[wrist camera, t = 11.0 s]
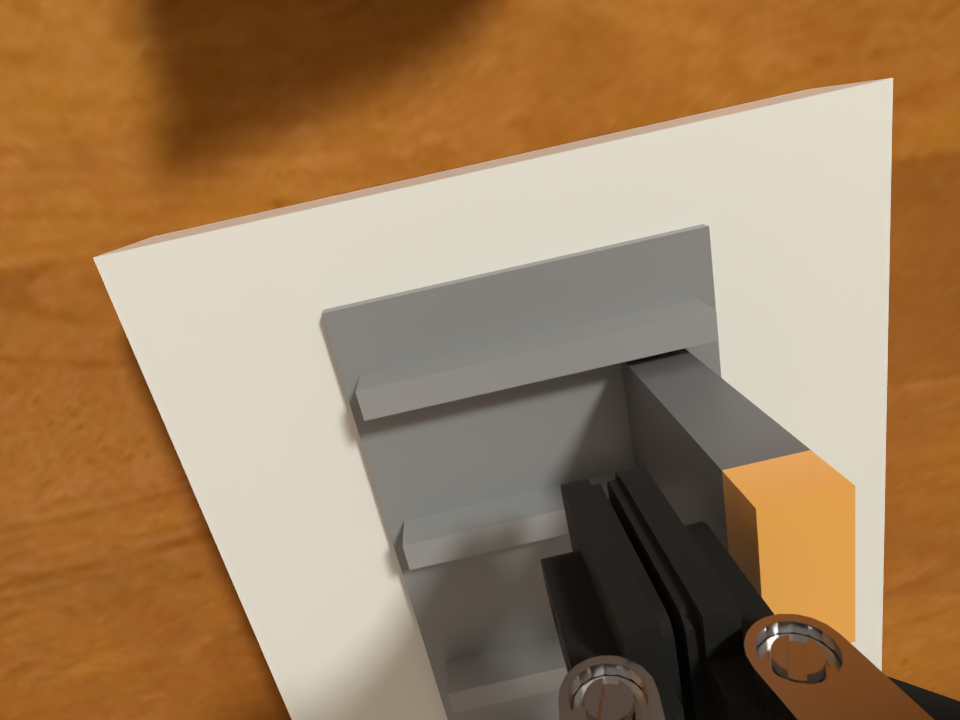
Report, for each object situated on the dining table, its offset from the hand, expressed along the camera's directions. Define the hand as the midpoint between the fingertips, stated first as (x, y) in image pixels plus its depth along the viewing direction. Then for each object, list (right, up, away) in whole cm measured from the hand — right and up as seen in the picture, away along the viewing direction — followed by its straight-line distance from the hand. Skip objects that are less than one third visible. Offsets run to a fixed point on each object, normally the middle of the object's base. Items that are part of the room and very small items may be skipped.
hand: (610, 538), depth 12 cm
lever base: (0, -2, +10) cm, 10 cm away
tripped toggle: (+2, +2, +5) cm, 6 cm away
